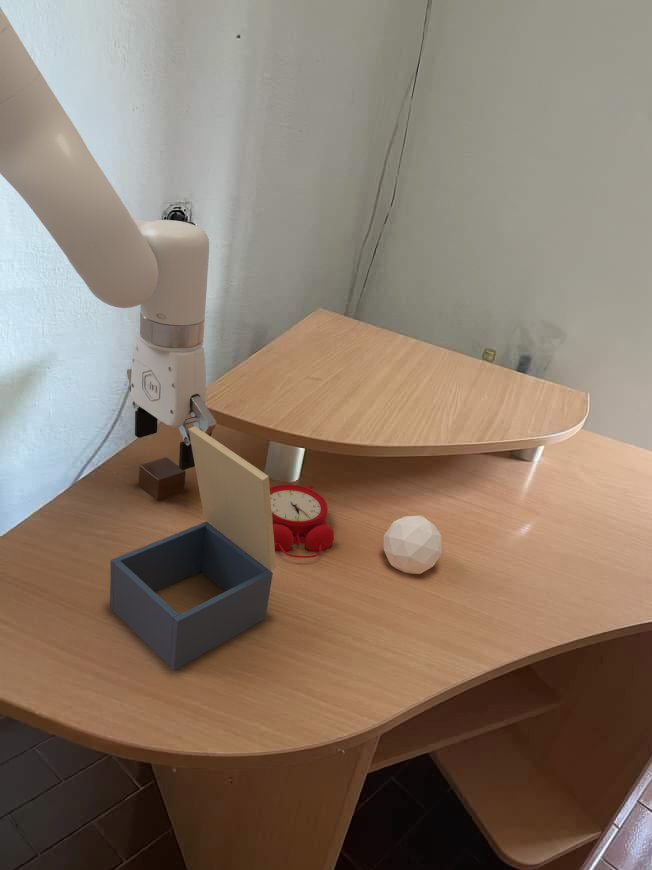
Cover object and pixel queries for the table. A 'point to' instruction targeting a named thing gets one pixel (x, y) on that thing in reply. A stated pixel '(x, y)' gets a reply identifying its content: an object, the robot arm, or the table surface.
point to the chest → (176, 561)
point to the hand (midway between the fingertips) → (167, 450)
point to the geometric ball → (412, 544)
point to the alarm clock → (299, 519)
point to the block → (161, 478)
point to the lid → (234, 497)
